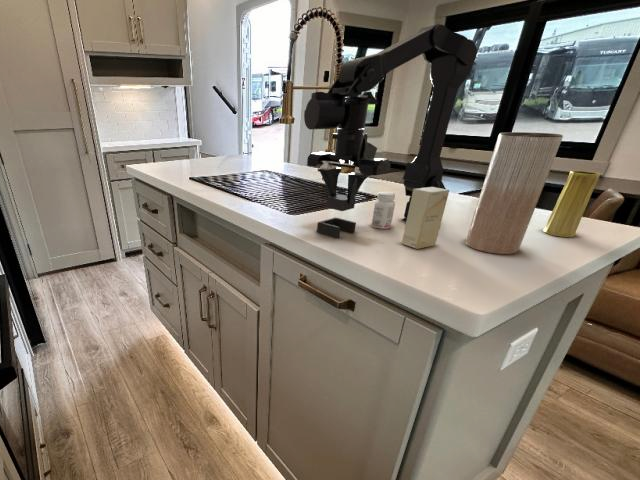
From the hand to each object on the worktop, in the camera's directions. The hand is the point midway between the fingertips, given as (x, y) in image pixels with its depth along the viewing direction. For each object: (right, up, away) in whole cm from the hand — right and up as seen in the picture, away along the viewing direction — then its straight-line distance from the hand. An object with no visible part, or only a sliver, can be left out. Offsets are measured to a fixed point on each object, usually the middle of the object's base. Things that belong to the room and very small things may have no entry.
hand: (341, 201), depth 85 cm
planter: (+32, -12, -5) cm, 34 cm away
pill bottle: (+12, -4, +8) cm, 16 cm away
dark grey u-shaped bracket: (0, -7, +4) cm, 8 cm away
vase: (+54, -7, +3) cm, 54 cm away
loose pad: (0, -1, +1) cm, 2 cm away
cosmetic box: (+16, -11, -4) cm, 20 cm away
